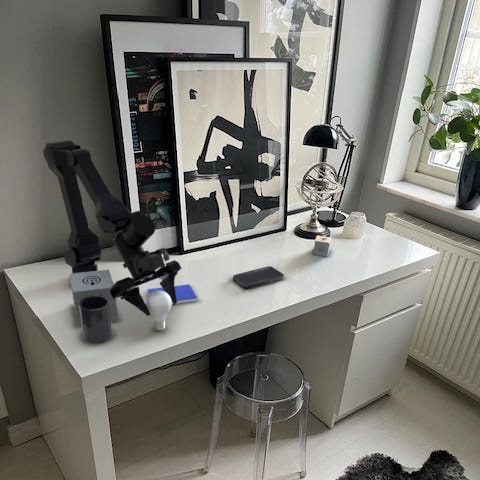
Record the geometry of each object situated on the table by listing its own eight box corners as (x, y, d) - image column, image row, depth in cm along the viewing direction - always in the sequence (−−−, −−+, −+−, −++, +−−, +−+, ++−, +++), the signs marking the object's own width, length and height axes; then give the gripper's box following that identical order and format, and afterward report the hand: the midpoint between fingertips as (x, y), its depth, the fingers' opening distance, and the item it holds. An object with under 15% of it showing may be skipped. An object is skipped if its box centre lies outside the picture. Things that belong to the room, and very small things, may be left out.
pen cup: (81, 343, 121) (77, 310, 116) (84, 328, 127) (80, 295, 122) (111, 342, 122) (108, 309, 117) (113, 327, 128) (110, 294, 123)
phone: (231, 275, 153) (270, 265, 161) (231, 278, 154) (270, 268, 161) (246, 286, 148) (285, 275, 155) (245, 289, 149) (285, 278, 156)
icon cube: (117, 320, 131) (114, 287, 125) (77, 326, 127) (73, 292, 122) (111, 301, 138) (108, 269, 133) (74, 306, 135) (69, 273, 130)
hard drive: (153, 302, 136) (197, 296, 140) (147, 288, 143) (189, 283, 147) (153, 307, 137) (197, 301, 141) (147, 293, 144) (189, 288, 148)
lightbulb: (170, 336, 126) (169, 299, 120) (145, 335, 126) (143, 297, 120) (173, 323, 131) (173, 286, 125) (149, 321, 131) (147, 285, 125)
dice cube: (329, 250, 176) (331, 237, 174) (327, 256, 172) (329, 243, 170) (315, 248, 177) (317, 235, 175) (313, 254, 173) (315, 240, 171)
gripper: (113, 250, 112) (145, 311, 112) (176, 230, 124) (206, 285, 124) (96, 269, 121) (126, 326, 121) (157, 249, 133) (185, 301, 132)
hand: (162, 309), depth 124 cm, fingers open, 8 cm apart
